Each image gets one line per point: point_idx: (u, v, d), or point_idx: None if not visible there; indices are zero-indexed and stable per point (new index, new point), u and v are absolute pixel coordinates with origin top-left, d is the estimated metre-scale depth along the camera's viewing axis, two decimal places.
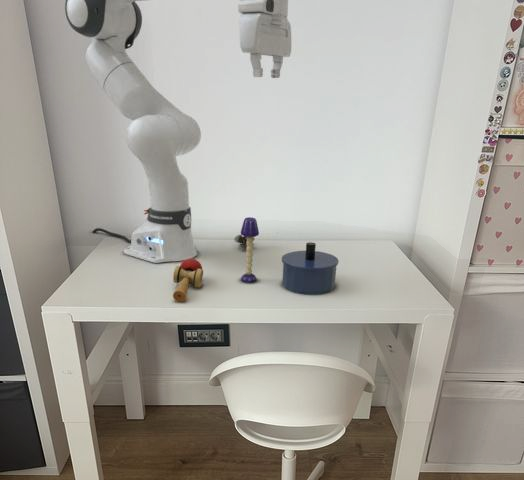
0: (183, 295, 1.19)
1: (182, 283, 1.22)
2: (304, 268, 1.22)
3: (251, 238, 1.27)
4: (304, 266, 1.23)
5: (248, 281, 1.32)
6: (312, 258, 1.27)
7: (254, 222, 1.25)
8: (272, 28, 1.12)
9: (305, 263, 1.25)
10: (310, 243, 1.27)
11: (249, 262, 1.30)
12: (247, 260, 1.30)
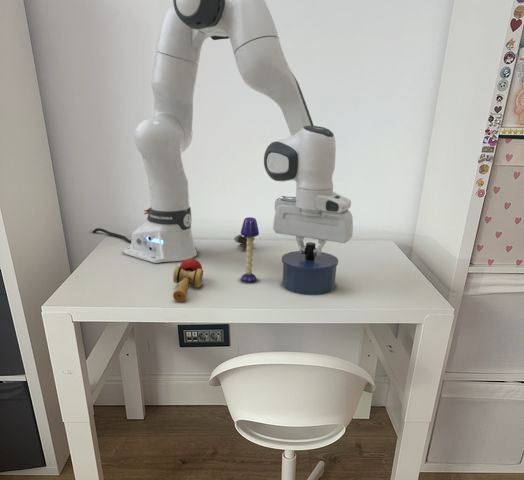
0: (183, 295, 1.19)
1: (182, 283, 1.22)
2: (304, 268, 1.22)
3: (251, 238, 1.27)
4: (304, 266, 1.23)
5: (248, 281, 1.32)
6: (312, 258, 1.27)
7: (254, 222, 1.25)
8: None
9: (305, 263, 1.25)
10: (310, 243, 1.27)
11: (249, 262, 1.30)
12: (247, 260, 1.30)
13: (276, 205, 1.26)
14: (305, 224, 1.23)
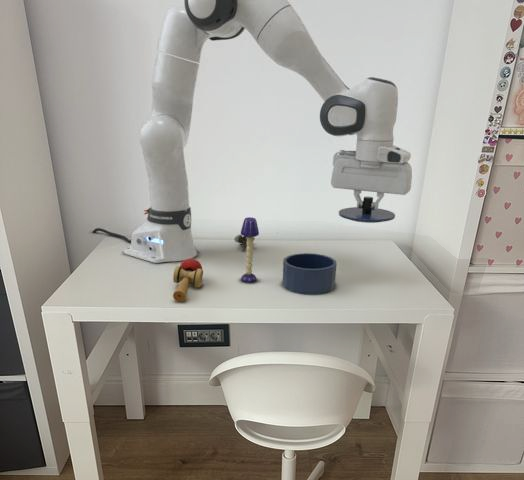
0: (183, 295, 1.19)
1: (182, 283, 1.22)
2: (364, 220, 1.25)
3: (251, 238, 1.27)
4: (363, 218, 1.25)
5: (248, 281, 1.32)
6: (369, 212, 1.30)
7: (254, 222, 1.25)
8: None
9: (363, 216, 1.27)
10: (367, 197, 1.29)
11: (249, 262, 1.30)
12: (247, 260, 1.30)
13: (334, 160, 1.28)
14: (365, 177, 1.25)
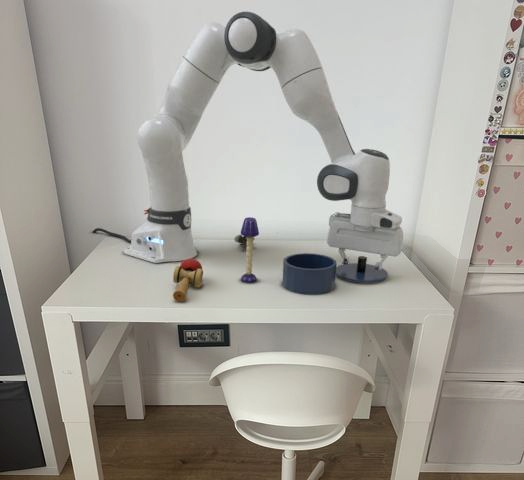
0: (183, 295, 1.19)
1: (182, 283, 1.22)
2: (358, 280, 1.32)
3: (251, 238, 1.27)
4: (357, 278, 1.33)
5: (248, 281, 1.32)
6: (363, 271, 1.37)
7: (254, 222, 1.25)
8: None
9: (358, 275, 1.35)
10: (362, 257, 1.37)
11: (249, 262, 1.30)
12: (247, 260, 1.30)
13: (330, 221, 1.36)
14: (359, 239, 1.33)
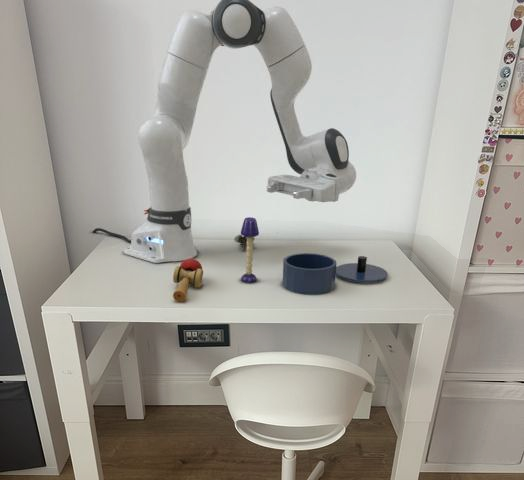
0: (183, 295, 1.19)
1: (182, 283, 1.22)
2: (358, 280, 1.32)
3: (251, 238, 1.27)
4: (357, 278, 1.33)
5: (248, 281, 1.32)
6: (363, 271, 1.37)
7: (254, 222, 1.25)
8: None
9: (358, 275, 1.35)
10: (362, 257, 1.37)
11: (249, 262, 1.30)
12: (247, 260, 1.30)
13: None
14: (298, 180, 1.36)
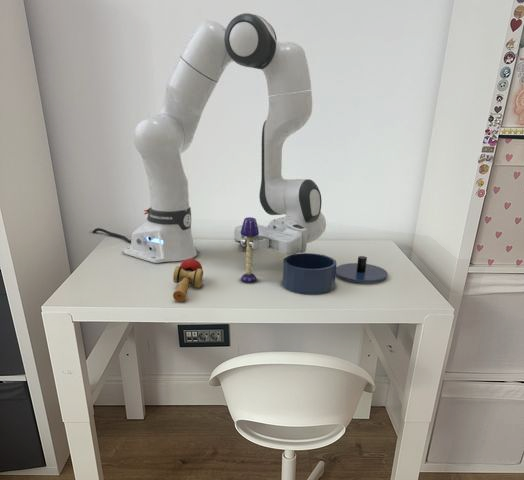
0: (183, 295, 1.19)
1: (182, 283, 1.22)
2: (358, 280, 1.32)
3: (251, 238, 1.27)
4: (357, 278, 1.33)
5: (248, 281, 1.32)
6: (363, 271, 1.37)
7: (254, 222, 1.25)
8: None
9: (358, 275, 1.35)
10: (362, 257, 1.37)
11: (249, 262, 1.30)
12: (247, 260, 1.30)
13: None
14: (265, 231, 1.33)
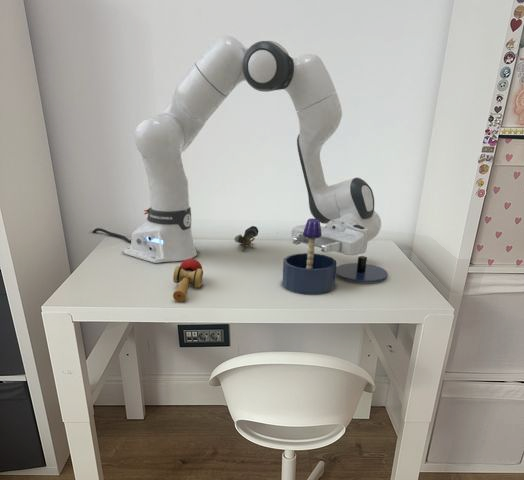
0: (183, 295, 1.19)
1: (182, 283, 1.22)
2: (358, 280, 1.32)
3: (313, 239, 1.25)
4: (357, 278, 1.33)
5: None
6: (363, 271, 1.37)
7: (318, 223, 1.23)
8: None
9: (358, 275, 1.35)
10: (362, 257, 1.37)
11: (310, 264, 1.28)
12: (308, 262, 1.28)
13: None
14: (324, 231, 1.31)
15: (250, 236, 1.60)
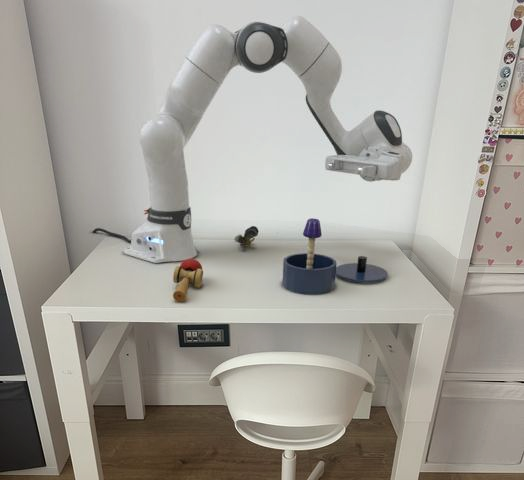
0: (183, 295, 1.19)
1: (182, 283, 1.22)
2: (358, 280, 1.32)
3: (313, 239, 1.25)
4: (357, 278, 1.33)
5: None
6: (363, 271, 1.37)
7: (318, 223, 1.23)
8: None
9: (358, 275, 1.35)
10: (362, 257, 1.37)
11: (310, 264, 1.28)
12: (308, 262, 1.28)
13: None
14: (359, 158, 1.31)
15: (250, 236, 1.60)
